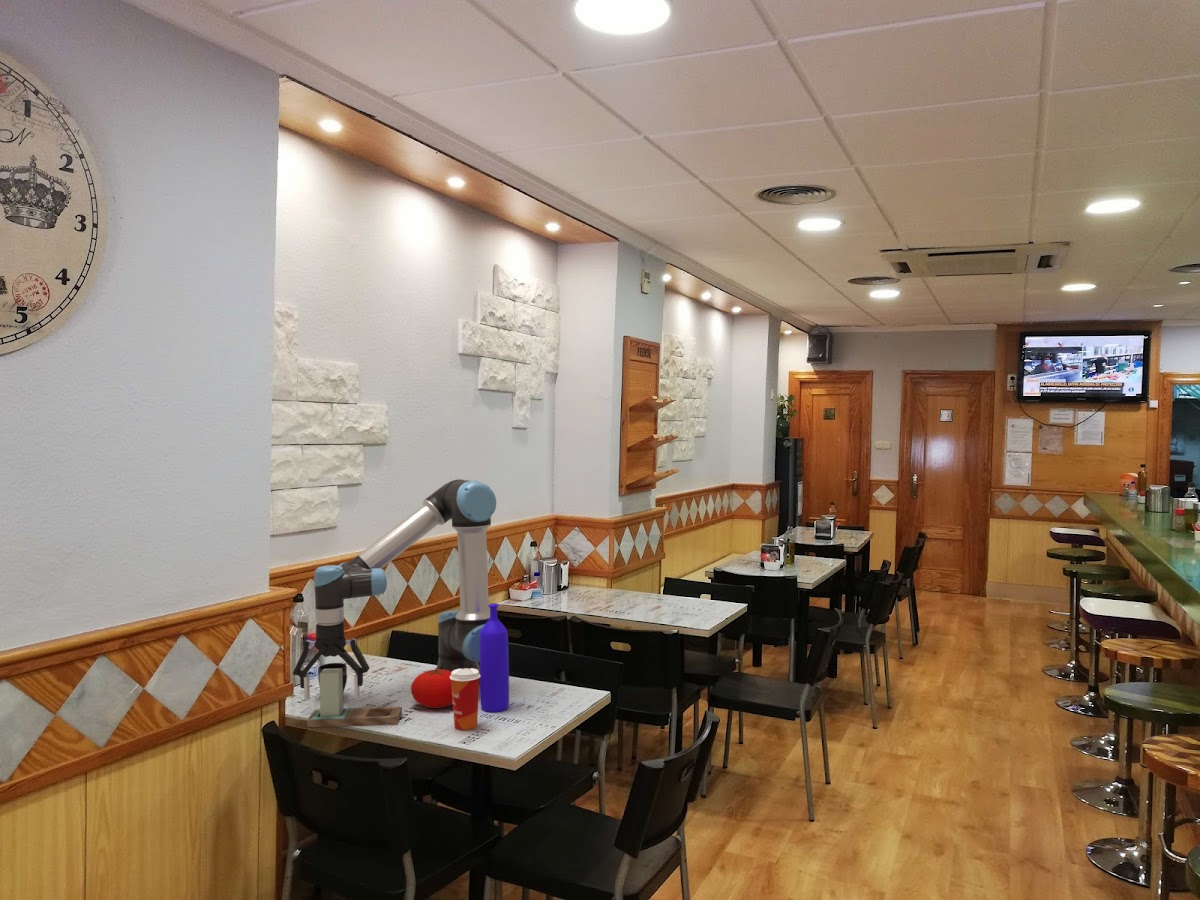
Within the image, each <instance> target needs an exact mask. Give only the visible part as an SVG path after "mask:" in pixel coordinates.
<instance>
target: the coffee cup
mask: <svg viewBox="0 0 1200 900" xmlns="http://www.w3.org/2000/svg"><path fill="white" fill-rule="evenodd" d="M479 678H480V674H479V671H478V670H477V669H474V668H470V669H468V668H464V669H462V668H461V669H456V670H454V671H452V673H451V676H450V679H451V686H452V700H453V704H452V709H453V710H452V711H453V723H454V728H455V729H456V730H458V729H459V730H458V731H470V730H474V729H476V728H477V727H478V719H479V718H478V714H479V713H478V712H479V695H480V694H479V693H480V685H479Z"/></svg>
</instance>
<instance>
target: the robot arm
mask: <svg viewBox="0 0 1200 900" xmlns="http://www.w3.org/2000/svg"><path fill="white" fill-rule="evenodd" d="M422 501H423V502H422V505H421V506H420V507H418V509H416V510H415V511H414V512H412V513H411V514H409V515H408V516H407V517H406V518H405V519H403V520H402V521H400V522H399V523H398V524H397V525H395V526H394V527H393V528H391V529H390V530H389V531H387V533H385V534H384V535H382V536H380V538H379V539H377V540H376V541H375V542H373V543H372V544H371V545H369V546H368V547H366V548H365V549H364V550H363V551H361V552H360V553H359V554H358V555H356V556H355V557H353V558H352V559H351V560H350V561H347V562H346V561H345V562H341V563H340V564H338V565H337V564H336V565H334V564H333V565H323V566H319V567H316V569H315V570H314V577H313V578H314V581H313V582H314V583H313V587H314V600H315V603H314V604H315V607H314V608H315V609H314V610H315V622H316V625H315V640H311V639H307V640H306V641H305V642H303V651H302V653H301V655H300V657H299V658H298V660H297V663H296V665H295V667H294V669H293V672H292V674H293V675H294V676H297V677H299V678H300V679H299V683H300V688H301V689H303V691H304V695H303V696H304V702H308V701H309V700H310V698H311V693H310V692H311V691H310V690H311V689H310V688H311V687H310V674H307V673H308V672H310V670H311V668H312V667H313V666H314V665H315V664H316V662H317V661H318V660H319V658H320V657H321V656H323V657H325V658H327V657H337V656H338V657H340V658H341V659H342V660H343V661H345V663H346V665H348V666H349V667H350V669H352V670H353V671H354V673H355V674H354V677H353V679H354V680H353V681H354V682H353V683H354V684H353V685H354V700H358V699H359V698H360V697H361V696H360V694H361V693H360V687H362V686H363V684H364V674H365V673H368V671H369V670H370V665H369V664H368V662H367V660H366V658H365V656H364V655H363V653H362V650H361V649H360V647H359V646H358V639H357V638H356V637H353V638H350V639H346V637H345V622H344V620H345V609H344V608H345V607H344V606H345V605H344V600H349V599H355V598H356V599H357V598H365V597H375V596H378V595H383V594H385V592H386V590H387V584H388V581H387V579H388V578H387V575H386V572H385V570H384V569H383V568H384V567H387V565H388V564H389V563H391V562H392V561H393V560H395V559H396V558H397V557H398V556H400V554H402V553H404V552H405V551H406V550H408V549H409V548H410V547H411V546H412V545H414V544H415V543H417V542H418V541H419V540H421V539H422V537H424V536H425V535H427V533H429V532H431V531H432V530H433V529H434V528H436V526H438V525H440V526H443V525H445V524H447V522H448V521H451V526H452V527H451V528H453V529H454V530H455V531H456V533H457V553H458V554H457V555H458V558H457V560H458V578H459V579H458V581H459V603H460V604H459V606H460V607H459V609H454V610H446V611H443V612H441V613H439V615H438V617H437V618H438V621H437V625H438V626H437V627H438V628H437V633H438V634H437V636H438V661H437V665H436V667H435V669H443V670H449V671H451V672H452V671H454V670H456V669H461V668H462V669H464V668H468V669H470V668H474V669H477V670H478V671H479V674H480V664H479V663H480V632H481V630H482V628H483V627H484V625H485V624H486V623H487V622H488V620H489V619H490V607H488V605H489V604H490V603H489V601H490V600H489V598H490V597H489V576H488V549H487V548H488V545H487V530H488V529H489V528H490V526H492V516H493V514H494V513H495V511H496V508H497V497H496V495H495V492H494V491H493V489H492V488H491V487H490V486H489V485H488V484H486V483H483V482H480V481H478V480H470V479H469V480H468V479H465V480H464V479H460V478H459V479H453V480H451V481H449V482H447V483H444V484H443V485H442V486H441V487H439V488H437V490H435V491H434V492H433V493H431V494H430V495H429V496H427V497H426V498H425V499H424V500H422ZM346 645H347V646H348V647H349V648H351V649H350V650H351V651H352V653H353V655H354V657H355V659H356V660H357V662H356V660H355V659H354V658H353V657H352V656H351V655H350V653H348V651H347V649H345V647H346ZM314 647H315V648H316V650H317V652H316V654H314V656H313V658H312V659H311V660H310V661H309V662H308V663H307V665H306V666H305V667H304V668H303V665H304V664H305V661H306V659H307V657H308V655H309V652H310V650H311V649H312V648H314ZM302 668H303V670H302ZM479 686H480V678H479Z"/></svg>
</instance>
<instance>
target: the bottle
mask: <svg viewBox="0 0 1200 900" xmlns="http://www.w3.org/2000/svg"><path fill="white" fill-rule="evenodd" d="M499 606H500V604H498V603H489V605H488V607H489V609H490V619H489V620H488V622H487V623H486V624H485V625H484V627H483V628H482V630H481V632H480V662H479V668H480V685H479V693H480V694H479V695H480V696H479V697H480V708H481V710H482V711H483V712H486V713H500V712H504V711H506V710H508V708H509V705H510V669H509V668H510V661H509V660H510V657H509V651H510V650H509V636H508V635H509V634H508V633H509V632H508V629H507V628H506V627H505V625H504V624H503V623H502V622H501V621H500V619H499V618H498V607H499Z"/></svg>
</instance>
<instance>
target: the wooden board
mask: <svg viewBox="0 0 1200 900" xmlns="http://www.w3.org/2000/svg"><path fill="white" fill-rule="evenodd" d="M402 715H403V706H386V707H385V706H384V707H383V706H381V707H380V706H379V707H378V706H377V707H351V706H347V707H345V706H343V714H342V716H337V717H320V707H319V708H318V709H317V708H315V709H314V710H313V712H312V713H311V714H310V715H309V717H308V718H307V719H306V727H307V728H323V727H324V728H325V727H326V728H329V727H332V728H333V727H355V726H359V727H360V726H361V727H363V726H386V724H388V725H387V726H389V725H390V726H391V725H392V726H393V725H397V724H398V723H399V721H400V719H401V717H402Z"/></svg>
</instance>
